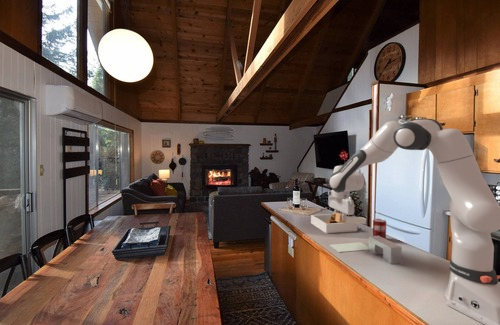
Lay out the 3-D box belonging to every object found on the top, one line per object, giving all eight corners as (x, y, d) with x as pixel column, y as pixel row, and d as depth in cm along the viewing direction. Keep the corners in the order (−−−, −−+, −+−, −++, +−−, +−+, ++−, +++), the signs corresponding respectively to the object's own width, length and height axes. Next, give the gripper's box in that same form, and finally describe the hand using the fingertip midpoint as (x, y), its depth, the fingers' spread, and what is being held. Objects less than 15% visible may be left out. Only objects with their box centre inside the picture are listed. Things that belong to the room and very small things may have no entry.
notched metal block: (401, 262, 121) (401, 246, 120) (390, 263, 120) (391, 247, 119) (378, 249, 136) (378, 235, 136) (368, 250, 135) (368, 236, 135)
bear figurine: (321, 225, 182) (322, 208, 182) (343, 227, 178) (344, 210, 177) (321, 230, 169) (321, 213, 169) (344, 233, 165) (345, 215, 164)
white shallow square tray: (357, 231, 168) (357, 222, 168) (326, 233, 163) (326, 224, 163) (338, 221, 190) (338, 213, 190) (310, 223, 186) (311, 215, 186)
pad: (372, 249, 137) (372, 248, 137) (339, 252, 133) (339, 251, 133) (360, 242, 147) (360, 242, 147) (329, 245, 143) (329, 244, 143)
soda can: (387, 241, 148) (388, 222, 148) (374, 241, 150) (375, 221, 149) (383, 237, 155) (384, 218, 155) (371, 236, 157) (371, 218, 156)
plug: (366, 224, 139) (367, 216, 139) (339, 222, 135) (340, 214, 135) (361, 222, 143) (362, 214, 142) (335, 220, 139) (336, 212, 139)
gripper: (357, 197, 127) (357, 223, 128) (336, 190, 147) (335, 213, 148) (346, 197, 126) (346, 224, 127) (326, 191, 146) (326, 214, 147)
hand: (340, 218), depth 138 cm, fingers closed on plug, 4 cm apart
